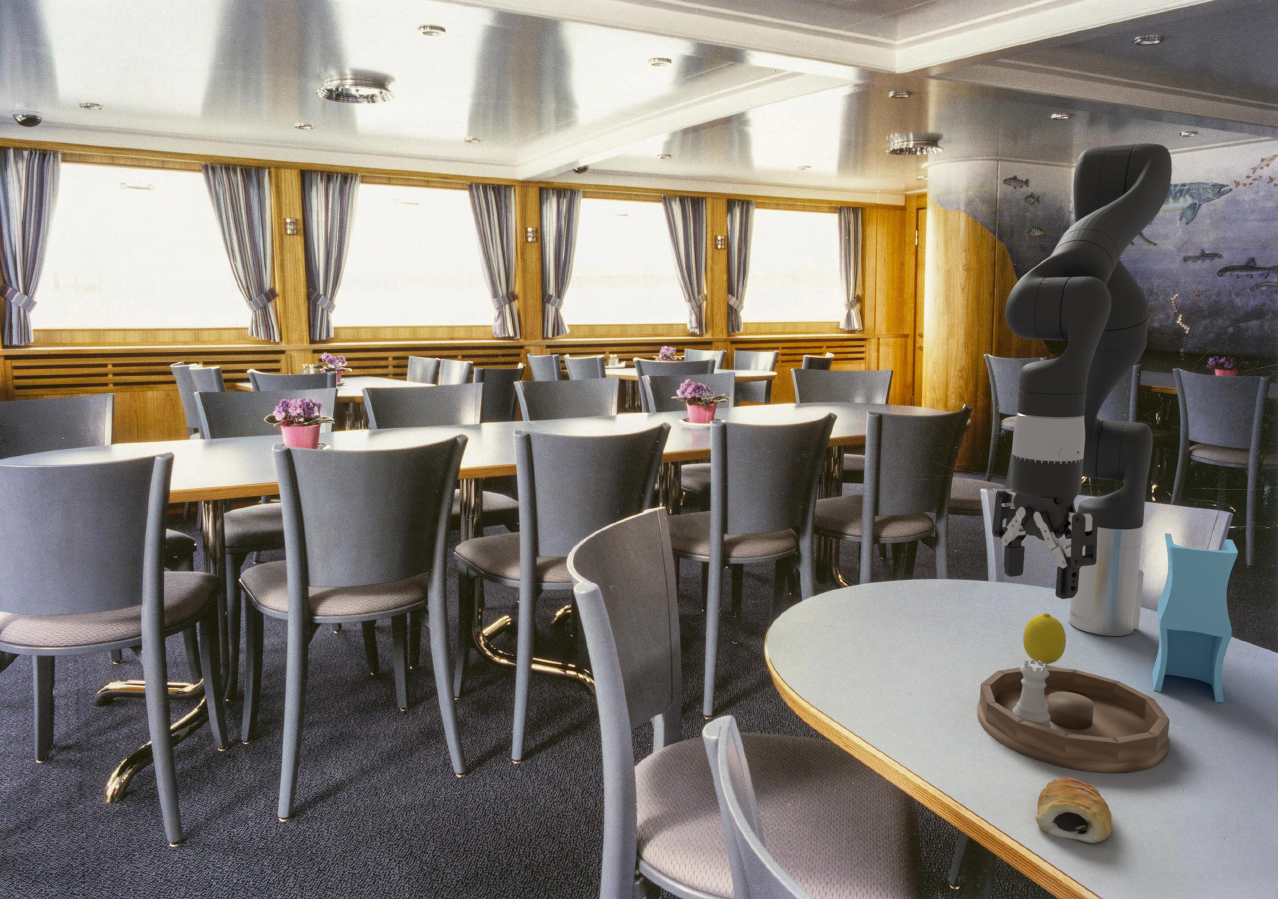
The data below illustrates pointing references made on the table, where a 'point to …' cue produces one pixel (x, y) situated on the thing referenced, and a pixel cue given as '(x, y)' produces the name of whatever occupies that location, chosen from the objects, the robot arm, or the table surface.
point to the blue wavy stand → (1194, 615)
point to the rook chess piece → (1033, 694)
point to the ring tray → (1079, 748)
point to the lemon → (1044, 639)
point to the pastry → (1074, 811)
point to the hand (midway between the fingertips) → (1038, 585)
